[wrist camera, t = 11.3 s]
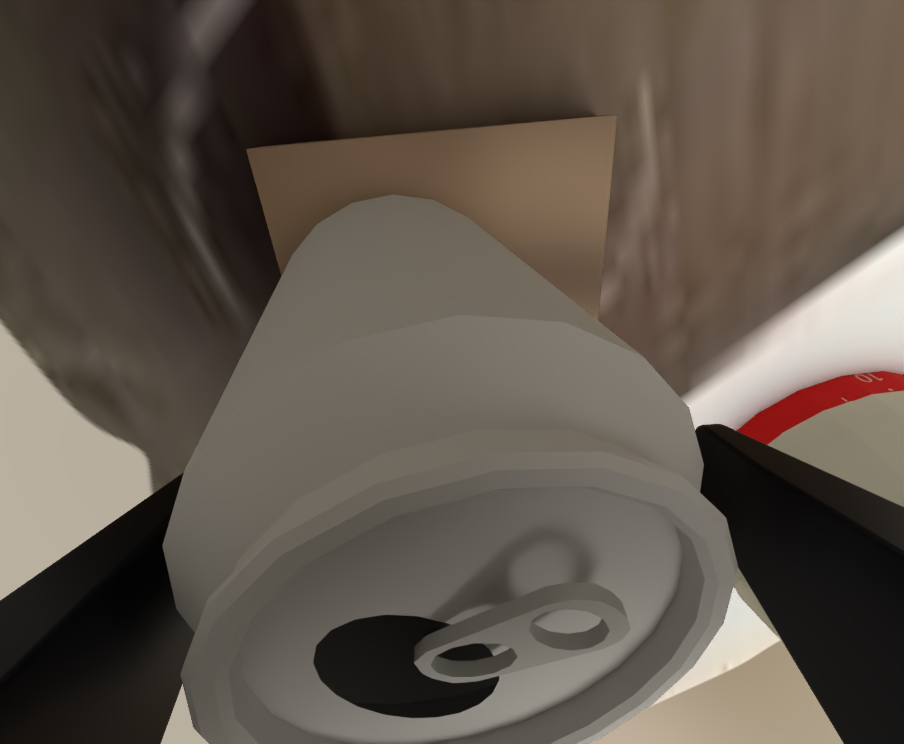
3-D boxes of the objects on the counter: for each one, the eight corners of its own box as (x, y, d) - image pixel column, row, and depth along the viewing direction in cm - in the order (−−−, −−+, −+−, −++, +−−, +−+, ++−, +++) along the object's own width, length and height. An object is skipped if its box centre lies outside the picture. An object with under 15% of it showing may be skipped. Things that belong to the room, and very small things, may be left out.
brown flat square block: (571, 385, 21) (589, 416, 19) (337, 410, 20) (328, 444, 18) (588, 115, 15) (617, 114, 13) (270, 145, 15) (245, 149, 13)
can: (231, 295, 14) (-127, 778, 4) (415, 134, 13) (671, 161, 2) (387, 433, 18) (432, 868, 7) (541, 317, 16) (857, 641, 6)
